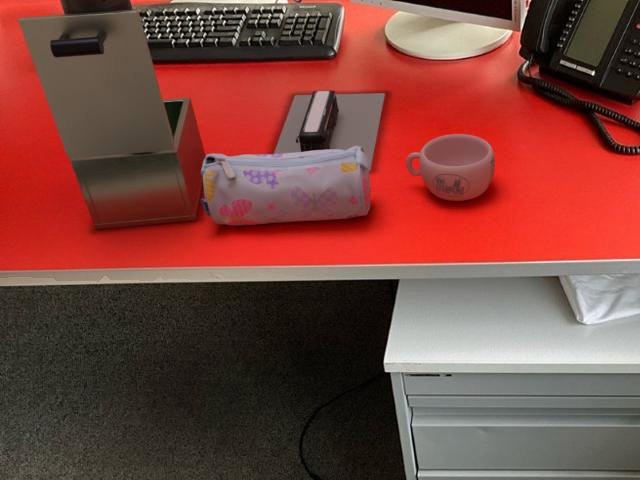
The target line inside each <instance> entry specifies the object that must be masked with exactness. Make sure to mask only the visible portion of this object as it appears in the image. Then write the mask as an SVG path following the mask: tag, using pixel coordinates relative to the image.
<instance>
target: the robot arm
mask: <svg viewBox="0 0 640 480" xmlns="http://www.w3.org/2000/svg"><path fill="white" fill-rule="evenodd" d="M59 1H60V4H61V7H62V10H63V13H64V14H63V15H65V14H80V13H94V12H109V11H123V10H134V9H133V6H132V2H131V0H59Z"/></svg>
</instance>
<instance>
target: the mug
mask: <svg viewBox="0 0 640 480" xmlns="http://www.w3.org/2000/svg"><path fill="white" fill-rule="evenodd" d="M414 159H419V160H418V161H419V164H418V165H419V169H418V170H416V169H415V168H414V167H413V165H412V163H413V160H414ZM405 167H406V169H407V171H408V172H409V173H410V174H411V175H412V176H414V177H418V176H419V177H420V176H421V179H422V181H423V182H424V184H425V186H426V187H427V189H428V191H429V192H430V193H432V194H433V195H434V196H435V197H437V198H439V199H441V200H443V201H444V200H445V201H450V202H451V201H452V202H463V201H469V200H473V199H475V198H478V197H479V196H481V195H482V194H484V192H486V191H487V189H488V188H489V187H490V185H491V182H492V180H493V178H494V175H495V168H496V157H495V153H494V149H493V147H492V145H491V144H490V143H489V142H488V141H487V140H485V139H484V138H481V137H479V136H477V135H472V134H465V133H452V134H446V135H445V134H444V135H442V136H438V137H436V138H433V139H431V140H430V141H428V142H426V143H425V144H424V146H423V147H422V148H421V150H420V152H411V153H410V154H408V156H407V157H406V159H405Z"/></svg>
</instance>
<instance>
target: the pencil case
mask: <svg viewBox="0 0 640 480" xmlns="http://www.w3.org/2000/svg"><path fill="white" fill-rule="evenodd" d="M205 156H206V157H205V159H204V161H203V165H202V169H201V176H202V179H203V194H204V198H200V203H201V206H202V209H203V211H204V213H205V214H206V215H207V216H209V217H210V219H211V220H212V221H213V222H214V223H215V224H216V225H226V226H231V227H232V226H235V227H236V226H256V225H266V224H279V223H293V222H310V221H311V222H312V221H331V220H345V219H352V218H357V217H364V216H367V215H368V213H369V212H370V209H371V180H370V179H371V178H370V171H369V169H368V157H367V156H366V155H365V152H364V149H363V148H362V147H359V146H354V147H351V148H349V149H347V150H340V149H327V150H314V151H306V152H295V153H282V154H274V153H262V154H260V153H259V154H255V153H254V154H252V153H251V154H249V153H248V154H247V153H246V154H245V153H244V154H240V155H231V156H227V155H225V154H224V153H216V152H215V153H214V152H213V153H212V152H211V153H208V154H206V155H205Z"/></svg>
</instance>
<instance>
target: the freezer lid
mask: <svg viewBox="0 0 640 480" xmlns="http://www.w3.org/2000/svg"><path fill="white" fill-rule="evenodd" d="M17 22H18V24H19V27H20V30H21V32H22V35H23V38H24V41H25V43H26V46H27V49H28V52H29V54H30V57H31V60H32V63H33V66H34V68H35V71H36V74H37V76H38V80H39V82H40V85H41V88H42V91H43V94H44V96H45V99H46V102H47V105H48V107H49V110H50V113H51V116H52V118H53V121H54V124H55V126H56V129H57V132H58V135H59V138H60V141H61V143H62V147H63V149H64V152H65V155H66V158H67V159H68V160H71V158H83V157H95V156H107V155H119V154H131V153H143V152H155V151H166V150H175V148H176V146H175V142H174V139H173V135H172V131H171V128H170V124H169V120H168V117H167V113H166V110H165V106H164V102H163V100H164V98H163V95H162V91H161V88H160V84H159V81H158V77H157V74H156V69H155V67H154V63H153V62H154V61H153V58H152V55H151V52H150V48H149V44H148V40H147V37H146V34H145V29H144V26H143V22H142V19H141V15H140V11H139V9H133V10H123V11H109V12H94V13H80V14H51V15H37V16H23V17H19V18H18V19H17Z"/></svg>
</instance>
